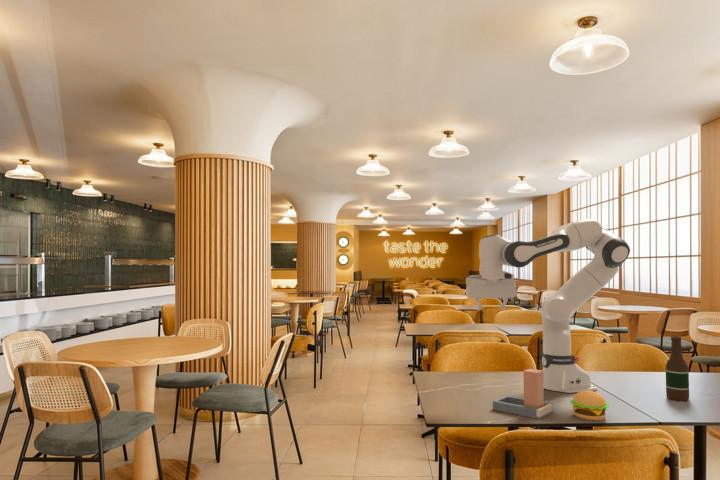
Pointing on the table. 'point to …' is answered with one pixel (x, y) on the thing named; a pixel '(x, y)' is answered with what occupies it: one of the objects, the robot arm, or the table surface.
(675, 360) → the beer bottle
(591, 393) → the hamburger
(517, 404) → the slot board
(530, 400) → the post
